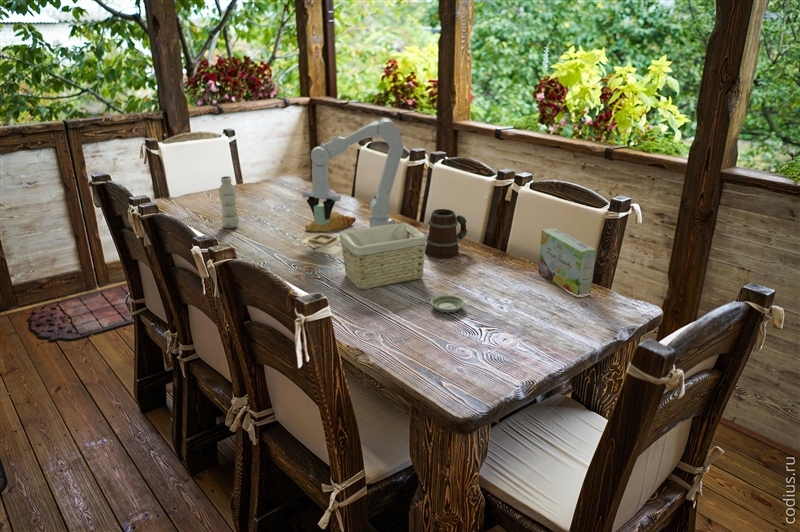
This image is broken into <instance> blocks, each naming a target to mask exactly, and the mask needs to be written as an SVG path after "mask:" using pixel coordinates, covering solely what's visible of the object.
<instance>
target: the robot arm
mask: <svg viewBox="0 0 800 532" xmlns="http://www.w3.org/2000/svg"><path fill="white" fill-rule="evenodd" d="M379 137H380V138H381V139H382V140H383V141H385V142H386V144H387V145H388V148H389V149H388V151H387V156H386V159H385V162H384V165H383V169H382V174H381V176H380V179H379V183H378V186H377V189H376V191H375V193H374V196H373V197H372V198H371V199H370V201H369V208H370V210H371V213H370V214H369V215H368V216H369V228H371V227H377V226H384V225H391V224H397V221H396V220H395V219H393V218H391V217H390V214H389V213H390V208H389V204H390V198H391V193H392V189H393V185H394V182H395V179H396V175H397V173H398V169H399V165H400V162H401V158H402V155H403V152H404V149H405V145H404V142H403V140H402V136H401V132H400V129H399V128H398V127H397V125H396V124H395V123H394V121H393V120H392V119H390V118H389V117H382V118H380V119H379V120H375V121H372V122H370V123H368V124H367V125H365V126H363V127H361V128H359V129H357V130H356V131H353V132H351V134H349V135H347V136H345V137H343V136H340V135H338V136H333V137H332V140H331V139H330V140H329V141H328V142H325V143H323V142H322V143H320V146H316V147H314V148H313V149H312V150H311V153H310V158H311V167H312V168H311V179H312V190H303V191H302V192H301V195H302V198H308V199H306V202H307V204H308V206H309V207H310V210H311V212H312V216H313V217H314V206H315V205H317V204H320V200H324V201H322V204H324V208H325V218H326V220H328V219H330V216H331V212H333V211H332V210H333V208H334V206H335V203H336V202H337V203H338V202H340V201H341V194H338V193H333V192H330V186H329V185H330V184H329V182H330V181H329V179H330V178H329V168H328V160H332V159H334V158H336V157H338V156H341V155H342V154H344V153H346V152H348V150H349V149H348V148H349V147H350V146H352V145H354V144H357V143H359V142H360V141H363V140H365V139H367V138H376V139H378V138H379Z"/></svg>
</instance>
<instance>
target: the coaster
mask: <svg viewBox="0 0 800 532" xmlns="http://www.w3.org/2000/svg"><path fill="white" fill-rule="evenodd" d="M326 246H327V245H326ZM331 246H332V245H331ZM340 251H343V250H342V246H339V245H335V246H333V247H330V248H327V247H322V246H319V248H317V249H315V250H314V252H318V253H323V254H327V255H333V256H334V255H336V254H337V253H339V252H340Z"/></svg>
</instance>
